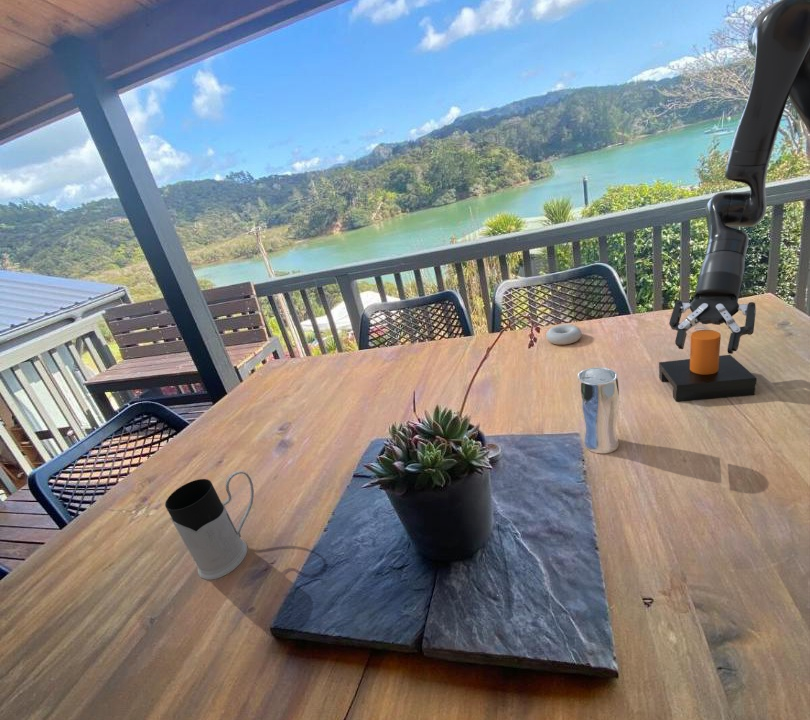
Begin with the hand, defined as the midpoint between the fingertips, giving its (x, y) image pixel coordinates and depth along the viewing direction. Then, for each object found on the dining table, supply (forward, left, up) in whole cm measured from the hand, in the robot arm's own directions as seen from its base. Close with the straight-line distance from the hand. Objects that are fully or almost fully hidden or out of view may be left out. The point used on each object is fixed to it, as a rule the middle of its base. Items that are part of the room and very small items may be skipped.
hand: (704, 350), depth 89 cm
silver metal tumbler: (+23, +17, -9) cm, 30 cm away
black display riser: (-1, -1, -9) cm, 9 cm away
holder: (+90, +41, -9) cm, 100 cm away
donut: (+23, -35, -9) cm, 43 cm away
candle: (-1, -1, -5) cm, 5 cm away
